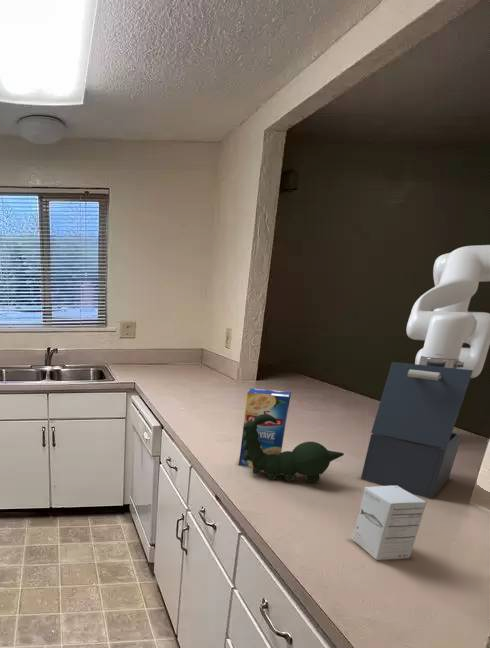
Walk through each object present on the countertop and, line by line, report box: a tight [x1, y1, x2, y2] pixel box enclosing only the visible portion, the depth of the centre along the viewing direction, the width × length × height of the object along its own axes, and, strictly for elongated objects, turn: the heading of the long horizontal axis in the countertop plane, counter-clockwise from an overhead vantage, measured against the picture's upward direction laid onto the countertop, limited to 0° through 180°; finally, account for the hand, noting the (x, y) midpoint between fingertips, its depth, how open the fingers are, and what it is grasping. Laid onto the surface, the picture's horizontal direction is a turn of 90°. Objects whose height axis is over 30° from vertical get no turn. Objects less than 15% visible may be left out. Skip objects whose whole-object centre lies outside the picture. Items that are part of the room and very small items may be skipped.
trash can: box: [360, 432, 463, 499], centre depth 118 cm, size 18×16×13 cm
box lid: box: [370, 361, 473, 449], centre depth 106 cm, size 19×16×5 cm
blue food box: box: [238, 387, 292, 468], centre depth 127 cm, size 7×11×22 cm, turn 62°
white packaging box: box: [351, 485, 427, 561], centre depth 86 cm, size 7×7×13 cm
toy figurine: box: [242, 414, 345, 484], centre depth 118 cm, size 9×19×25 cm
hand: (418, 432), depth 116 cm, fingers closed on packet, 3 cm apart
